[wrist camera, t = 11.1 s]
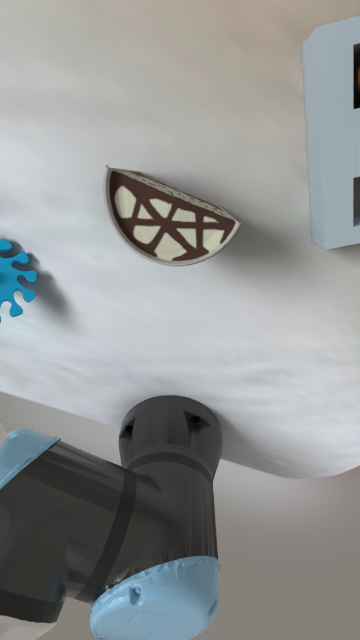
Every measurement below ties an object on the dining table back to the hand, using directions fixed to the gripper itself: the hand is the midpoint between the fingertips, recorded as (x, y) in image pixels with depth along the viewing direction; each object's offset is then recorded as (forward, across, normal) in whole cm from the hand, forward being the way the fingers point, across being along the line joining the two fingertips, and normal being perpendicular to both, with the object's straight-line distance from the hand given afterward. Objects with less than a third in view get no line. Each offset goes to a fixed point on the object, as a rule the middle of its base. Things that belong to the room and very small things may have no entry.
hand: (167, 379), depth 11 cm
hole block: (+28, -19, -6) cm, 34 cm away
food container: (+28, +1, -3) cm, 29 cm away
